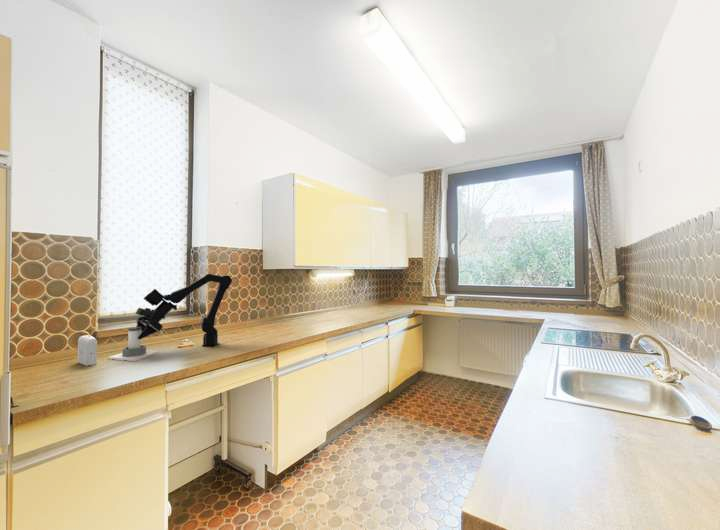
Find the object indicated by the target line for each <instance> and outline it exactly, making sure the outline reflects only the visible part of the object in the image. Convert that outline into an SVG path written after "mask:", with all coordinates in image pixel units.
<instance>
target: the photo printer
mask: <svg viewBox="0 0 720 530" xmlns="http://www.w3.org/2000/svg"><path fill="white" fill-rule="evenodd" d="M97 358H98V341H97V339H96V338H95V337H94V336H92V335H91V334H89V335H88V334H86V335H85V334H84V335H81V336H80V337H78V340H77V363H79V364H80V365H84V366H88V365H91V366H95V365H96V364H97V362H98V361H97ZM94 364H95V365H94ZM88 367H89V366H88Z"/></svg>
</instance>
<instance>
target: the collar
mask: <svg viewBox="0 0 720 530" xmlns="http://www.w3.org/2000/svg"><path fill="white" fill-rule="evenodd" d="M156 353H157V354H160V350H151V349H147V345H144V344H141V348H139V349H133V350H128V346H126V347H123V348H122V352H121V353H117V354H114V355H110V356H108V357H107V359H108V360H112V359H114V361H124V360H127V362H135V361H136V360H137V361H139V360H143V359H144V358H148V357H151V356H154V355H157V354H156ZM150 355H151V356H150ZM147 356H148V357H147Z"/></svg>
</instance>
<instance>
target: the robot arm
mask: <svg viewBox="0 0 720 530" xmlns="http://www.w3.org/2000/svg"><path fill="white" fill-rule="evenodd" d="M209 282H213V283H218V284H217V290H216V292H215V295H214V297H213V300H212V303H211V304H210V306H209V307H210V308H209V310H208V312H207V314H206V316H202V318H201V321H200V322H199V324H200V328H201V330H202V331H203V332H204V334H203V337H202V338H203V339H202V341H203V342H202V345H201V347H208V346H211V347H210V348H213V347H216V346H217V345H220V342H218V340H219V339H218V338H219V337H218V336H219V334H218V329H217V328H216V327H214V326H215V323H216V321H215V320H216V316H217V314H218V311H219V308H220V305H221V302H222V301H223V298H224V295H225V293H226V291H227V290H228V289H229V287H230V286H231V284H232V282H233V280H232V277H231V276H229V275H227V274H224V275H221V276H220V275H218V274H217V275H216V274H211V273H207V274H205V275H204V276H202V277H201V278H199V279H197V280H195V281H194V282H192V283H191V284H188V285H187V286H185V287H182V288H180V289H177V290H174V291H172V292H171V293H168V294H164V295H163V294H162V293H160V291H158V289H156V288H154V289H152V290H151V291H150V292H149V293H148V294H147V295H146V296H144V297H143V300H145V301H146V302H147V303H148V304H150V305H151V306H157V307H156V308H155V309H151V308H149V307H145V308H141V307H138V308H137V309H136V312H135V315H138V317H137V318H136V319H135V320H136V326H135V327H142V329H141V334H140V335H139V337H138V339H141V340H142V339H144V338H146V337H149V336H150V335H153V334H155V333H158V332H160V331H161V330H162V329H163V328H164V327H163V324H162V323H160V322H161V321H162V320H165V319H166V316H167V315H168V314H169V313H170V312H171V311H172V310H173V311H177V310H178V305H177V304H179V303H181V302H183V300H185V299H186V297H188V296H189V295H190V294H191V293H192V292H194V291H196V290H197V289H199V288H201V287H202V286H204V285H206V284H208V283H209ZM215 345H216V346H215ZM212 346H213V347H212Z"/></svg>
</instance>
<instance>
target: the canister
mask: <svg viewBox="0 0 720 530" xmlns="http://www.w3.org/2000/svg"><path fill="white" fill-rule="evenodd" d="M141 329H142V327H136V326H131V327H128V329H127V331H128V333H127V334H128V340H127V341H128V345H127V347H128V350H133V349H139V348H141V345H142V339H138V337H139V335H140V334H141V333H142V332H141Z"/></svg>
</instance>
